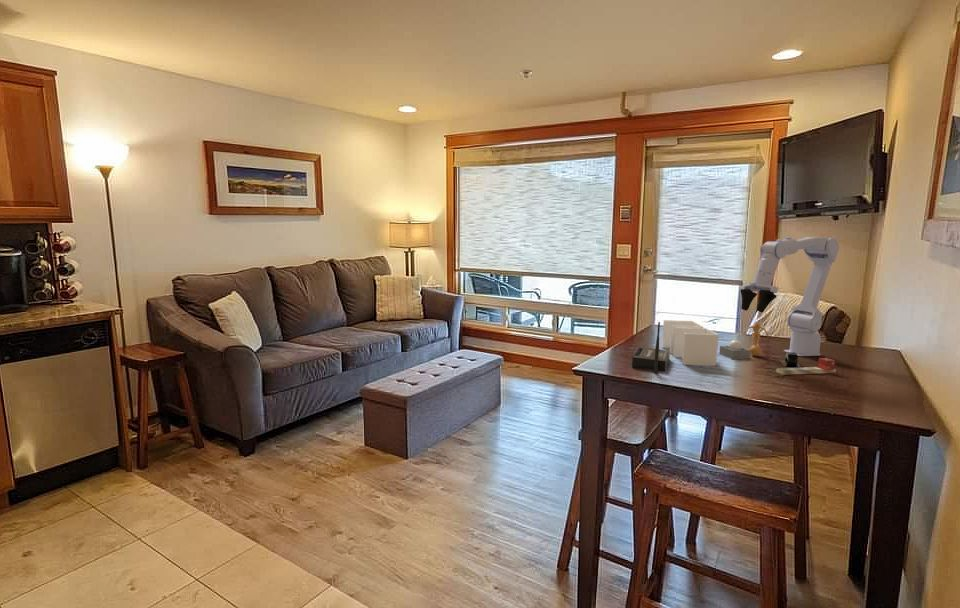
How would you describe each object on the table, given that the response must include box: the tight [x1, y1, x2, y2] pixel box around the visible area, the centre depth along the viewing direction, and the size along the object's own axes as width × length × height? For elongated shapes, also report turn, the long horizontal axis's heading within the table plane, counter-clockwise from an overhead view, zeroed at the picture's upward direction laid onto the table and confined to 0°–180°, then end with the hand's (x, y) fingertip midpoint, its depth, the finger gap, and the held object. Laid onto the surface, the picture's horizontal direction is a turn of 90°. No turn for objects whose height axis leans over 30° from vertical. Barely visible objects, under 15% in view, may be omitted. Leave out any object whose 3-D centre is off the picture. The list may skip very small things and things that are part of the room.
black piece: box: [778, 352, 803, 368], centre depth 176 cm, size 12×7×5 cm, turn 159°
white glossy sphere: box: [727, 339, 743, 350], centre depth 186 cm, size 5×5×5 cm
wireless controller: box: [631, 321, 671, 374], centre depth 171 cm, size 20×14×17 cm
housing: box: [719, 345, 751, 360], centre depth 186 cm, size 7×7×3 cm
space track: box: [775, 357, 837, 376], centre depth 166 cm, size 20×4×4 cm, turn 100°
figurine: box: [743, 323, 769, 357], centre depth 187 cm, size 8×6×12 cm
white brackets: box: [661, 319, 720, 367], centre depth 184 cm, size 25×11×11 cm, turn 176°
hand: (751, 310), depth 177 cm, fingers open, 7 cm apart
